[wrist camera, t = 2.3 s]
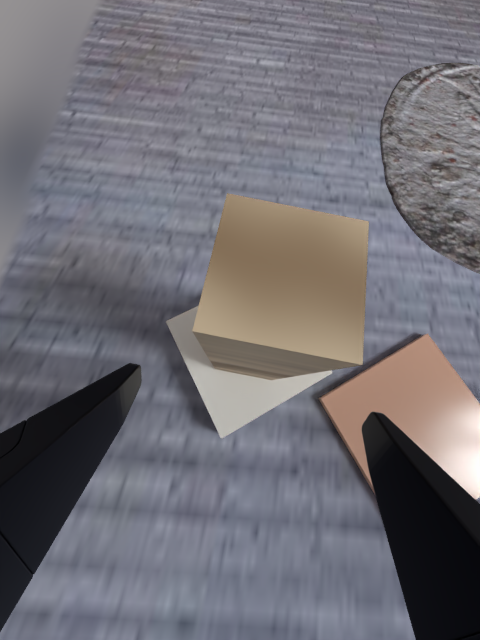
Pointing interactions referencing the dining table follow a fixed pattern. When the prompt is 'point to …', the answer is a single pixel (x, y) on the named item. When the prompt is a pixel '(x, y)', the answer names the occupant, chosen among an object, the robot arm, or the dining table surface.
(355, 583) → the dining table surface
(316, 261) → the oak block
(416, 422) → the terracotta tile
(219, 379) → the white square tile
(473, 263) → the worn metal disc
